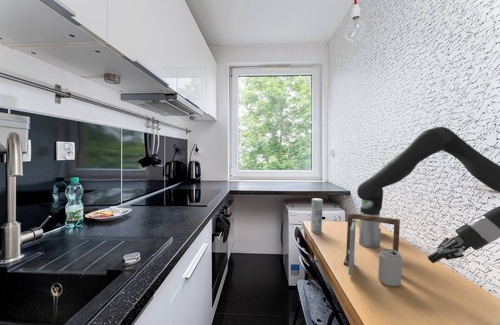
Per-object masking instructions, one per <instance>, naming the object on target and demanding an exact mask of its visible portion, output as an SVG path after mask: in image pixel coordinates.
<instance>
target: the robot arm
mask: <svg viewBox="0 0 500 325" xmlns="http://www.w3.org/2000/svg"><path fill="white" fill-rule="evenodd" d="M442 151H443V152H445V153H446V154H447V153H448V154H449V155H451V156H453V157H454V158H456V160H458V161H459V163H461V164H462V165H463V167H464V168H465V169H466V170H467V172H468V173H470V174H471V176H473V177H474V178H475V179H476V180H478V181H479V182H481V183H482V184H484V185H485V186H486V187H488V188H490V189H491V190H493V191H494V192H496V193H500V165H499V164H498V163H496V162H494V161H492V160H490V159H489V158H487V157H486V156H485V155H483V154H482V153H480V152H479V151H478V150H476V149H475V148H474V147H472V146H471V145H470V144H468V143H467V142H466V141H464V140H463V139H462V137H460V136H459V135H457V133H455V132H454V131H453V130H451V129H450V128H448V127H445V126H437V127H433V128H429V129H427V130H424V131H422V132H421V133H420V134H419V135H418V136H417V137H416V138H414V140H413V141H412V142H411V144H409V145H408V146H407V148H405V149H404V150H403V151H402V152H400V153H399V154H397V155H396V156H395V157H394V158H392V159H391V160H390V161H389V162H388V163H386V164H385V165H384V166H383V167H382V168H381V169H379V170H378V171H377V172H376V173H375V174H374V175H372V176H371V177H370V178H367V179H366V180H365V181H363V182H362V183H360V184H359V185H358V187H357V192H356V194H357V196H358V198H360V199H361V200H362V199H363V200H368V202H367V203H366V204H365V205H363V206H362V205H361V206H360V213H359V214H363V215H371V216H378V217H381V216H380V215H381V211H382V209H383V200H384V189H383V188H386V187H388V186H391V185H392V186H393V185H394V184H396V183H399V182H401V181H402V180H404V179H405V178H407V177H408V176H410V174H411V173H412V172H413V171H414V170H415V168H416V167H417V166H418V164H419V163H421V162H423V161H424V160H425V159H427V158H428V157H431V156H432V155H434V154H437V153H439V152H442ZM454 232H455V233H456V234H457V235H456V236H453V237H450V238H449V237H445V238H444V239H443V240H442V241H441V242H440V243H439V245H438V246H437V247H436V251H435V252H433V253H431V254H429V255H428V256H427V259H428V261H430V263H432V264H435V263H437V262H439V261H441V260H442V259H445V260H446V261H447V260H454V259H455V260H456V259H458V258H460V259H461V258H464V256H465V255H464V253H465V252H466V251H467V250H468V249H470V248H472V249H473V250H475V251H478V250H480V249H482V248H484V247H486V246H487V245H490V244H492V243H493V242H494V241H496V240H498V239H499V238H500V206H497V207H494V208H491V210H488V211H487V212H485V213H483V214H482V215H480V216H477V217H475V218H473V219H471V220H469V221H468V222H466V223H465V224H464V225H461V226H460V227H458V228H457V229H455V231H454ZM358 235H359V236H358V244H360V245H361V246H363V247H366V248H371V249H372V248H373V249H374V248H375V249H376V248H378V247H381V235H382V229H381V228H380V225H379V222H372V221H365V220H360V231H359V234H358Z"/></svg>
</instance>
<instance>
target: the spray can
mask: <svg viewBox="0 0 500 325" xmlns="http://www.w3.org/2000/svg"><path fill="white" fill-rule="evenodd" d="M323 201H324V200H323V199H322V198H319V197H318V198H316V197H315V198H311V212H310V213H311V215H310V216H311V218H310V220H311V221H310V231H311V232H312V233H315V234H320V233H322V231H323V230H322V228H323V227H322V225H323V208H324V207H323V204H324V203H323Z"/></svg>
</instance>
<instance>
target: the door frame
mask: <svg viewBox="0 0 500 325" xmlns="http://www.w3.org/2000/svg"><path fill="white" fill-rule="evenodd" d="M353 219H358V220H365V221H372V222H379V223H381V224H387V225H393V237H392V238H393V240H392V250H396V251H398V252H399V246H400V245H399V244H400V243H399V242H400V227H401V226H400V225H401V220H400V219H399V218H392V217H386V216H385V217H384V216H380V217H378V216H371V215H363V214H360V213H355V212H347V228H346V229H347V231H346V232H347V233H346V250H345V254H346V255H345V257H344V260H343V265H344V266H348V267H349V254H348V250H349V248H350V229H351V226H352V223H353Z"/></svg>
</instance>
